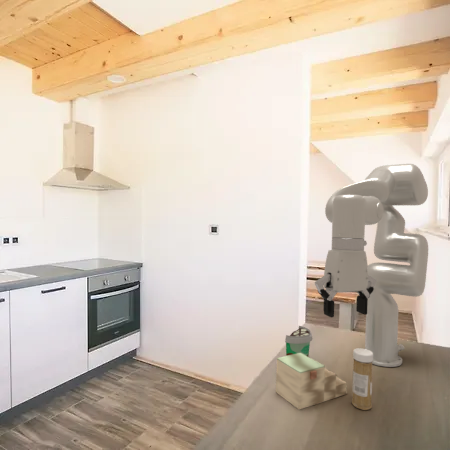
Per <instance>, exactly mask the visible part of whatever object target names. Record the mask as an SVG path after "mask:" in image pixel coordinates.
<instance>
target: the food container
mask: <svg viewBox="0 0 450 450" xmlns="http://www.w3.org/2000/svg"><path fill="white" fill-rule="evenodd" d="M312 341H313V336H312V332H311V330H310V329H309V328H307V327H306V326H302V325H298V329H296V330H294V331H292V333H290V335H287V334H285V340H284V342H285V352H286V353H285V356H288V355H292V354H297V353H302V354H304V355H306V356H307V357H309V354H310V347H311V342H312ZM309 358H310V357H309Z"/></svg>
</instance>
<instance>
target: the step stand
mask: <svg viewBox="0 0 450 450" xmlns="http://www.w3.org/2000/svg"><path fill="white" fill-rule="evenodd" d="M275 368H276V373H275V374H276V375H275V377H276V378H275V393H276V394H278V395H279V396H280V397H281V398H283V399H284V400H285V401H287V402H288V403H289V404H291V405H292V406H294V408H296V409H298V410H303V409H306V408H308V407H312V406H314V405H315V406H316V405H318V404H321V403H324V402H327V401H330V400H332V399H335V398H339V397H342V396H344V395H347V384H348V383H347V381H344V380H342V379H340V378H339V377H337V374H336V373H334V372H332V371H331V370H328V369H327V368H326V366H325V364H323V363H320V362H319V361H317V360H316V359H313V358H311V357H307V356H306V355H304V354H302V353H297V354H292V355H288V356H286V355H284V356H280V357H276V367H275Z"/></svg>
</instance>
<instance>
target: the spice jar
mask: <svg viewBox="0 0 450 450" xmlns="http://www.w3.org/2000/svg"><path fill="white" fill-rule="evenodd" d="M352 358H353V367H352V368H353V369H352V400H351V403H352V406H354V408H356V409H359V410H363V411H367V410H371V409H372V407H373V405H372V394H373V381H372V380H373V364H372V362H373V353H372V352H371V351H370V350H367V349H365V348H363V347H362V348H361V347H357V348H354V349H353V352H352Z"/></svg>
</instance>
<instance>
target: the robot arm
mask: <svg viewBox="0 0 450 450" xmlns="http://www.w3.org/2000/svg"><path fill="white" fill-rule="evenodd" d="M428 195H429V188H428V184H427V181H426V179H425V177H424V174H423V172H422V170H421V169H420V168H419V166H417V165H416V164H414V163H401V164H387V165H380V166H378V167H375V168H374V169H373V170H372V171H371V172H370V173H369V174H368V175H367V176H366V177H365V179H363V180H360V181H357V182H354V183H352V184H349V185H345V186H344V187H342V188H339V189H337V190H336V191H335V192H334V193H333V194H332V195H331V196H330V197H329V198H328V200H327V201H326V205H325V208H324V209H325V211H324V213H325V217H326V219H327V221H328V222H330V223H332V224H331V225H332V226H331V250H330V249H328V252H327V254H326V258H325V264H324V271H323V272H324V273H323V276H322V277H319V278H318V279H317V280H315V282H314V285H315V288H316V289H317V293H318V294H319V295H320V296H321V299H323V314H324V315H325V316H327V317H329V318H334V317H335V301H334V300H333V299H334V298H335V296H336V295H337V293H356V292H357V294H358V295H357V296H356V312H358V313H360V314H361V315H364V316H365V338H364V339H365V342H364V346H365V347H364V349H367V350H370V351H371V352H372V353H373V362H372V365H375V366H379V367H386V368H395V367H396V368H397V367H399V366H401V365H402V364H403V358H402V357H401V356H400V355H399V352H401V351H404V350H405V346H404V344H402V343H400V344H398V338H399V337H398V335H399V333H398V332H399V329H398V328H399V305H398V303H397V301H396V300H395V298H394V296H392V295H398V296H399V295H401V296H407V297H414V298H416V297H420V296H423V293H424V292H425V288H426V282H427V281H426V280H427V270H428V260H429V242H428V240H427V238H426V236H424V235H423V234H419V233H410V232H409V233H407V232H405V227H406V220H405V218H404V217H403V215H402V214H401V213H400V212H399V211H398V210H397V209H396V208H395V207H394V206H421V205H423V204H425V202H426V201H427V199H428ZM375 224H376V226H377V227H376V233H375V237H374V238H375V239H374V242H373V243H374V245H373V253H374V256H375V258H377V259H379V260H381V261H387V262H372V263H369V264H368V258H367V252H366V251H365V247H366V246H367V244H368V243H367V240H365V232H366V231H365V227H366V226H372V225H375ZM388 261H389V262H388ZM390 262H391V263H390ZM392 262H398V263H407V264H398V263H392Z"/></svg>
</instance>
